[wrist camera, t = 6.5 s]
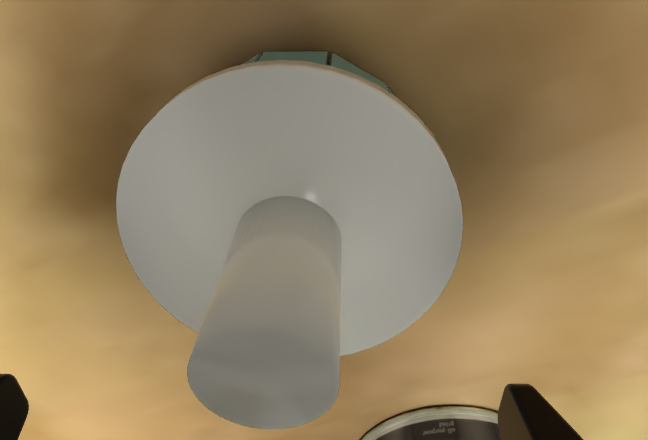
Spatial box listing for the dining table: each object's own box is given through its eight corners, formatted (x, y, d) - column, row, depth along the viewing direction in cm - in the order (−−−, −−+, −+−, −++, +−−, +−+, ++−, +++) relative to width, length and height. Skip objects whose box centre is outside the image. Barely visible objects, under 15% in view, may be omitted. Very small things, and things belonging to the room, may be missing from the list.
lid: (481, 57, 11) (578, 158, 6) (437, 343, 15) (475, 516, 11) (87, 61, 11) (-90, 158, 7) (163, 339, 16) (92, 503, 11)
